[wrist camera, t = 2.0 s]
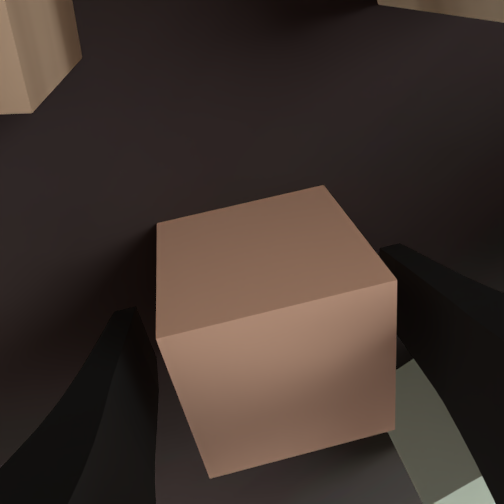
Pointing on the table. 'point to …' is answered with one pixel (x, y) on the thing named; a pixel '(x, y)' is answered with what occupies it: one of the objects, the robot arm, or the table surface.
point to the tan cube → (35, 51)
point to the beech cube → (454, 7)
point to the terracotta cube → (276, 329)
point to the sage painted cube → (433, 444)
